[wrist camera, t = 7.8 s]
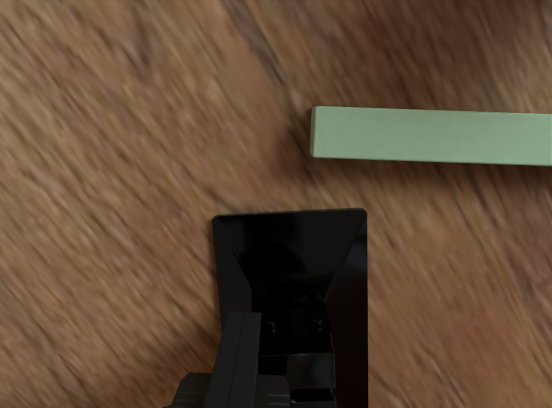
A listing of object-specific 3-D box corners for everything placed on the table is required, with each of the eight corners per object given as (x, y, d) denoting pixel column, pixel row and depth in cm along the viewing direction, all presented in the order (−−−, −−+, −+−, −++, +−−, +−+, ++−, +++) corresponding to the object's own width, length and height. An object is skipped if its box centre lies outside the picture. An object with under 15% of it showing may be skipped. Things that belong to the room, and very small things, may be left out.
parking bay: (311, 106, 18) (315, 105, 15) (722, 120, 18) (789, 122, 15) (292, 486, 22) (293, 530, 20) (620, 500, 22) (660, 547, 20)
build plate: (366, 436, 22) (389, 523, 17) (228, 440, 22) (214, 528, 17) (365, 206, 19) (392, 239, 14) (206, 214, 19) (182, 249, 14)
